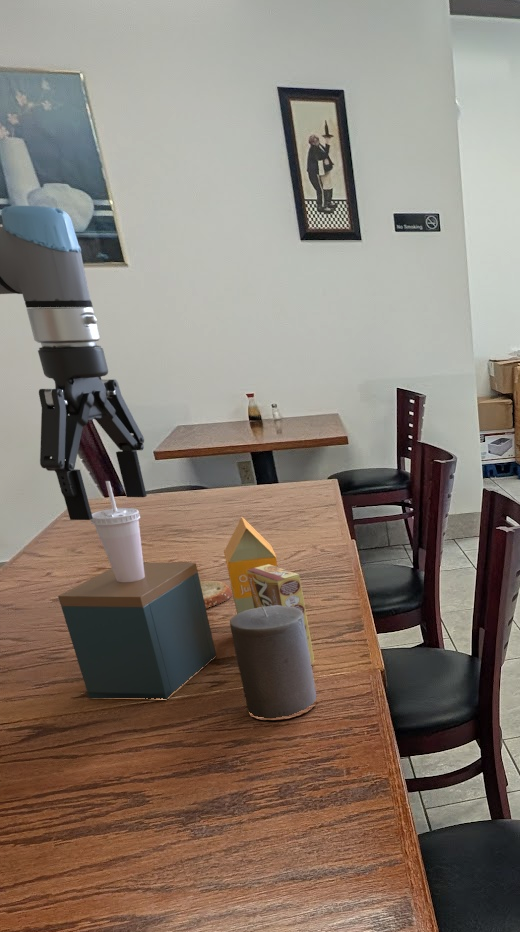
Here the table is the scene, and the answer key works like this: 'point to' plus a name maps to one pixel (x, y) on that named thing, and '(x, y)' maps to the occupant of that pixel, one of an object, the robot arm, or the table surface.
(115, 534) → the smoothie
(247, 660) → the pillar candle
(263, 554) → the orange juice
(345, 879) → the table surface
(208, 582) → the slice of bread
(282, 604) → the candy box
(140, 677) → the lidded gift box
